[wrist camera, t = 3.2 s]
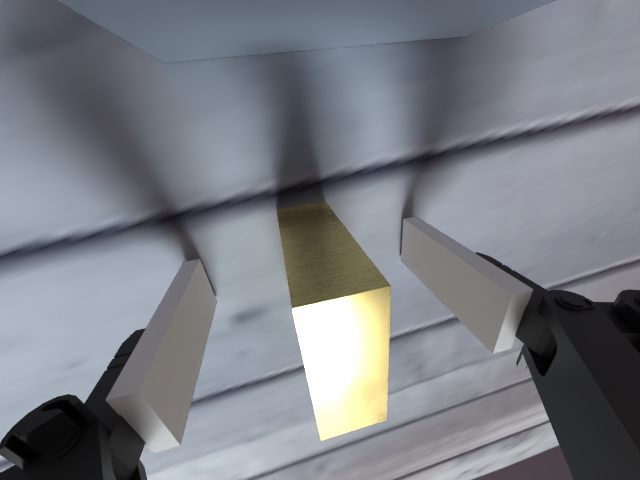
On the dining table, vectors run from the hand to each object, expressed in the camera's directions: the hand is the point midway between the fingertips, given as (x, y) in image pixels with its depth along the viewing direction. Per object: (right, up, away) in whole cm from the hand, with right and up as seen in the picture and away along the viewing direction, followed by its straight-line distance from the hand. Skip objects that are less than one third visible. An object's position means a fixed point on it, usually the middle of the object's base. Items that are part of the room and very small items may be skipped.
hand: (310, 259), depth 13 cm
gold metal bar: (0, 0, 0) cm, 0 cm away
